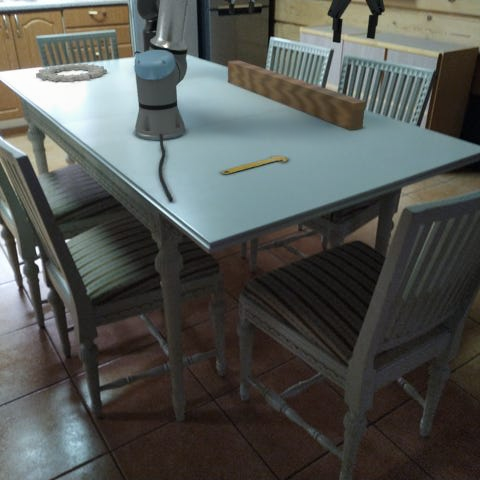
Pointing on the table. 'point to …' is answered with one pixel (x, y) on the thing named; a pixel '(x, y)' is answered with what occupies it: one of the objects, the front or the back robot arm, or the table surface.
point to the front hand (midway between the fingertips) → (353, 40)
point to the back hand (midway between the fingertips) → (241, 13)
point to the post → (299, 94)
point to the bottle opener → (256, 164)
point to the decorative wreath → (92, 73)
